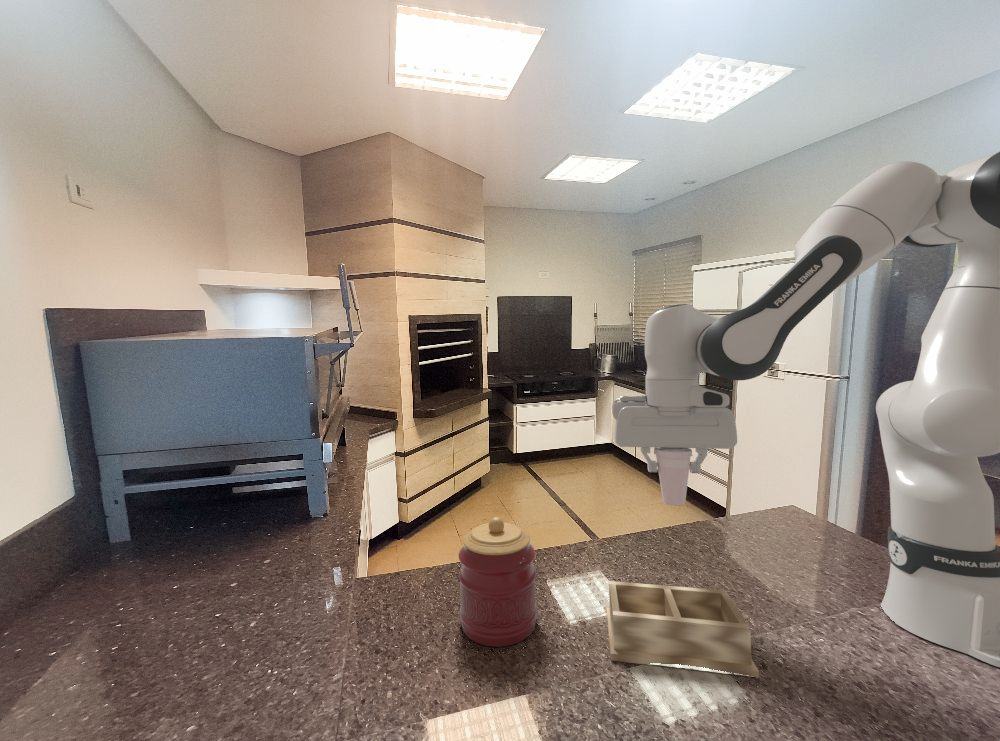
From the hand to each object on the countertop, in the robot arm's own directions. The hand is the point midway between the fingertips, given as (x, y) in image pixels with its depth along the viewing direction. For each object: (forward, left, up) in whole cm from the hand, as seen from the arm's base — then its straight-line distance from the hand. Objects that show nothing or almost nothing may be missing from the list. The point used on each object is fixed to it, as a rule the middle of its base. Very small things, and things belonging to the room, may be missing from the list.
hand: (673, 472), depth 71 cm
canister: (+30, +11, -24) cm, 40 cm away
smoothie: (0, 0, -6) cm, 6 cm away
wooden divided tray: (+3, +11, -23) cm, 26 cm away
